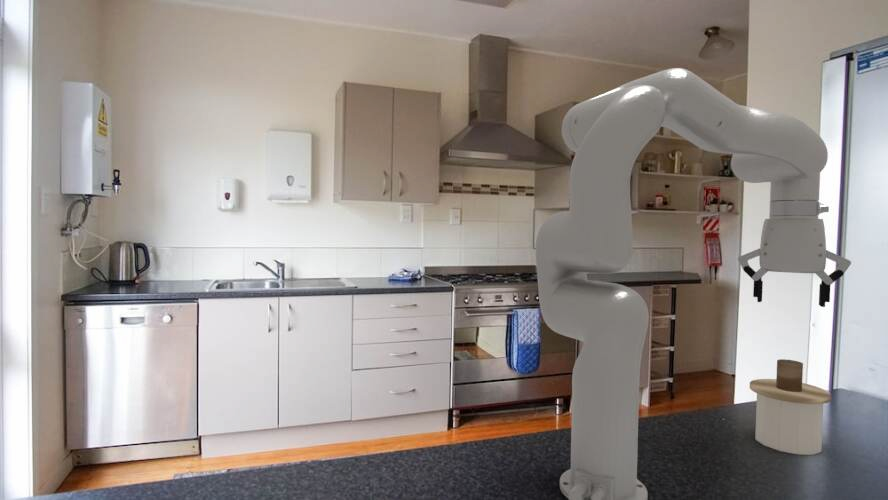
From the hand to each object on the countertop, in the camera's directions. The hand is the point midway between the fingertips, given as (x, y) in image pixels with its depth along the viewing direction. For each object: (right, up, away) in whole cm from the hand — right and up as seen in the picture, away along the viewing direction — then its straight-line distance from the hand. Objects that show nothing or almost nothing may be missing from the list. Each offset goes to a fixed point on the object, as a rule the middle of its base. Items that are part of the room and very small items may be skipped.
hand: (789, 303), depth 96 cm
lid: (0, -17, +1) cm, 17 cm away
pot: (0, -26, +1) cm, 26 cm away
